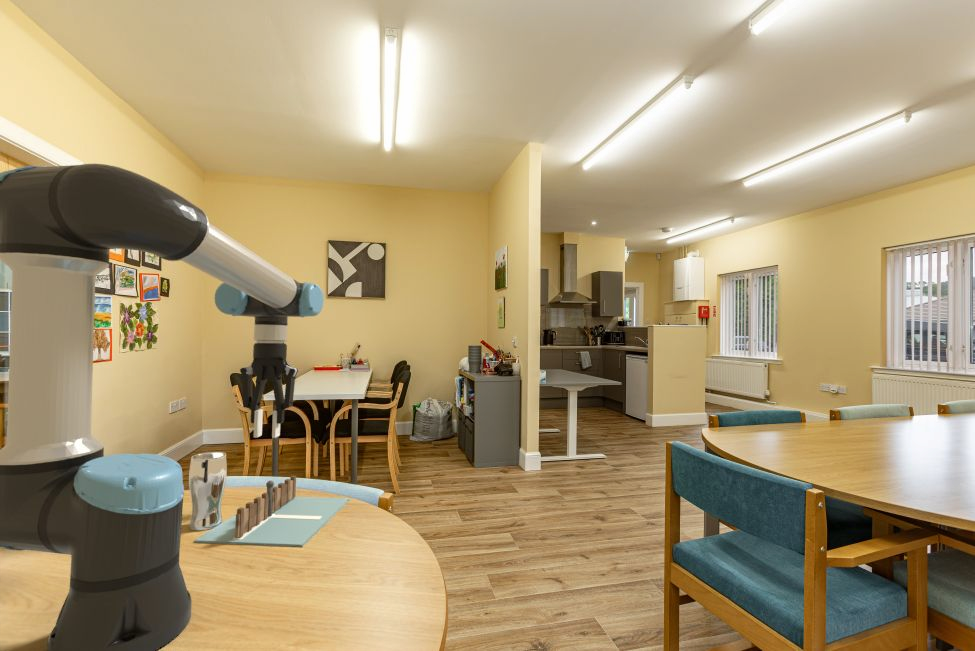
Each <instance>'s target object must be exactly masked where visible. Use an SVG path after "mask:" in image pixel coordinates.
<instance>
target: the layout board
mask: <svg viewBox="0 0 975 651" xmlns="http://www.w3.org/2000/svg"><path fill="white" fill-rule="evenodd" d="M349 499H350V498H349V497H348V498H345V497H342V498H341V497H322V496H321V497H318V496H317V497H314V496H313V497H312V496H311V497H310V496H295V498H293V499H291V500H290V501H289V502H288V503H286V504H284V505H283V506H282V507H280V508H279V509H277V511H275V512H273V513H272V516H270V517H267V519H266V520H262V521H261V522H260V524H259V525H258V526H254V527H252V530H251V531H249V532H245V533H244V534H243V536H242V537H241V538H235V527H236V514H234V515H233V516H231V517H229V518H227V519H226V520H223V521H222V523H221V524H220V525H218V526H216V527H215V528H212V529H209V531H208V530H207V532H205V533H203V534H202V535H201V536H198V538H195V539H194V541H193V542H194V543H200V544H201V543H203V544H222V545H223V544H226V545H227V544H228V545H247V546H248V545H249V546H276V547H277V546H278V547H300V548H301V547H302V548H303V547H304V546H305V545H306V544H307V543H308V542H309V541H310V540H311V539H312V538H313V537H314V536H315V535H316V534H317V533H318V532H319V531H320V530H321V529H322V528H323V527H325V525H326V524H327V523H328V522H329V521H330V520H331V519H332V518H333V517H335V515H336V514H337V513H338V512H339V511H340V510H341V509H342V508H343V507H344V506H345V505H347V503H348V502H349V501H350V500H349ZM348 500H349V501H348Z"/></svg>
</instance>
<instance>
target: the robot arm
mask: <svg viewBox="0 0 975 651" xmlns="http://www.w3.org/2000/svg"><path fill="white" fill-rule="evenodd" d="M114 249H115V250H116V249H117V250H119V249H120V250H130V251H131V250H132V251H140V252H145V253H149V254H152V255H155V256H157V257H159V258H160V259H162V260H165V261H169V262H180V261H182V262H183V263H185V264H187V265H189V266H191V267H193V268H195V269H197V270H199V271H201V272H203V273H205V274H207V275H209V276H211V277H213V278H214V279H217V280H218V281H220V282H222V283H220V284H219V285H218V287H217V288H216V290H215V293H214V297H213V298H214V304H215V306H216V308H217V310H219V312H221V313H222V314H225V315H231V316H232V317H249V318H251V317H252V318H254V330H253V340H254V344H253V350H252V352H253V353H252V354H253V355H252V358H253V360H252V362H251V365H249V366H246V367H241V368H240V370H239V372H240V374H241V377H242V407H243V408H247V409H249V410H250V423H251V424H253V438H255V439H256V438H259V437H261V436H262V435H263V416H264V415H263V414H264V409H263V408H262V406H261V403H262V399H263V395H264V391H265V387H266V383H267V382H268V380H270V382H271V384H272V390H273V395H274V401H275V409H274V410H272V425H271V426H272V427H271V428H272V429H271V430H272V431H271V437H272V439H273V438H274V439H276V438H278V437H280V436H281V424H283V423H284V421H285V412H286V411H285V410H287V409H288V408H291V407H293V406H294V405H293V404H294V394H295V384H296V376H297V374H298V372H299V369H298V368H297V367H295V368H294V367H292V366H289V364H288V362H287V356H288V354H287V350H288V349H287V348H288V345H287V343H285V342H287V341H288V328H289V327H288V326H289V325H288V324H289V323H288V318H290V317H294V318H296V317H297V318H305V317H316V316H318V315H319V314H320V313H321V312H322V309H323V308H324V300H325V299H324V293H323V290H322V288H321V287H320V285H319V284H316V283H314V282H313V283H311V282H310V283H309V282H305V281H304V282H299V281H297V280H295V279H294V278H292V277H291V276H290V275H288V274H286V273H285V272H283V271H282V270H281V269H280V268H278V267H276V266H275V265H273V264H272V263H270V262H269V261H267V260H265V259H264V258H262V257H261V256H260V255H258V254H257V253H255V252H253V251H252V250H251V249H249V248H248V247H246V246H244V245H243V244H241V243H240V242H239V241H237V240H236V239H234V238H233V237H232V236H230V235H228V234H227V233H225V232H223V231H222V230H221V229H219V228H218V227H216V226H214V225H213V224H212V223H210V222H209V217H208V216H207V214H206V212H205V211H203V210H202V209H201V208H200V207H198V206H196V205H195V204H193V203H192V202H191V201H189V199H186V198H185V197H183V196H181V195H180V194H178V193H177V192H174V191H173V190H171V189H169V188H168V187H166V186H164V185H162V184H160V183H159V182H157V181H155V180H152V179H150V178H148V177H146V176H143V175H141V174H139V173H136V172H134V171H131V170H129V169H125V168H122V167H120V166H119V167H118V166H115V165H110V164H104V163H82V164H76V165H75V164H74V165H73V164H72V165H56V166H55V165H54V166H53V165H52V166H42V165H41V166H40V165H29V166H23V167H17V168H15V169H10V170H8V169H7V170H5V171H2V172H0V261H1V262H2V263H3V264H4V265H6V266H7V267H9V269H10V270H11V271H12V272H11V275H12V276H11V277H12V278H11V301H10V302H11V305H10V306H11V308H10V332H9V333H10V335H9V363H8V364H9V366H8V369H9V370H8V392H7V393H8V394H7V423H6V424H7V425H6V430H7V431H6V444H5V445H4V446H3V447H2V448H1V449H0V548H3V549H5V550H11V551H34V552H43V553H51V554H57V555H58V554H59V555H60V554H61V555H69V556H70V557H71V559H70V560H71V561H70V576H69V578H70V579H69V580H70V581H69V589H68V593H67V595H66V597H65V600H64V602H63V604H62V607H61V609H60V612H59V614H58V617H57V619H56V622H55V625H54V627H53V628H52V630H51V632H50V634H49V636H48V639H47V644H46V651H155V650H156V651H158V650H159V649H161V648H163V647H164V646H166V645H167V644H169V643H170V642H172V641H173V640H174V639H175V638H177V637H178V636H179V635H180V634H181V633H182V632H183V631H184V630H185V629H186V627H188V624H189V623H190V620H191V618H192V605H193V604H192V603H193V601H192V596H191V594H190V592H189V590H188V589H187V584H186V582H185V579H184V575H183V572H182V569H181V565H180V554H181V553H180V552H181V551H180V549H181V536H182V534H181V533H182V520H183V504H184V494H185V491H184V490H185V486H184V482H183V478H184V477H183V469H182V466H181V465H180V463H179V462H178V461H176V460H175V459H173V458H171V457H168V456H164V455H160V454H156V453H135V454H134V453H119V454H118V453H117V454H111V455H106V456H105V455H104V448H105V444H104V443H103V442H102V441H101V440H99V439H97V438H96V437H95V436H93V435H92V407H93V405H92V403H93V372H94V370H93V369H94V340H95V339H94V334H95V333H94V332H95V304H96V303H95V301H96V299H95V298H96V296H95V295H96V278H97V276H98V275H100V273H102V272H104V271H105V270H107V269H108V268H109V267H110V250H114ZM255 341H256V342H255ZM284 372H285V375H286V379H285V389H284V390H283V378H282V375H283V374H284ZM254 373H255V375H256V378H255V385H254V386H255V387H254V389H253V374H254ZM261 408H262V409H261ZM177 635H178V636H177ZM172 639H173V640H172ZM168 642H169V643H168ZM160 647H161V648H160Z"/></svg>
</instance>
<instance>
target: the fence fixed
mask: <svg viewBox="0 0 975 651" xmlns="http://www.w3.org/2000/svg"><path fill="white" fill-rule="evenodd" d="M265 486H266V492H263V493H262V494H261V497H259V496H258V497H255V498H254V499H253V502H252V501H248V502H247V503H245V507H239V508H237V509H236V514H235V515H236V527H235V538H241V537H242V536H243V534H244V533H245V532H249V531H251V530H252V527H254V526H258V525H259V524H260V522H261V521H262V520H266V519H267V517H270V516H272V497H273V487H275V482H274V481H273V480H267V482H266V485H265Z"/></svg>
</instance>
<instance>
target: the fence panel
mask: <svg viewBox="0 0 975 651" xmlns="http://www.w3.org/2000/svg"><path fill="white" fill-rule="evenodd" d="M296 488H297V475H290V478H286V479H285V480H284V482H279V483H278V485H277V486H273V497H272V513H273V512H275V511H277V509H279V508H280V507H282V506H283V505H284V504H286V503H288V502H289V501H290V500H291V499H293V498H295V497H297V495H296V493H297V491H296V490H297V489H296Z"/></svg>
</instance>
